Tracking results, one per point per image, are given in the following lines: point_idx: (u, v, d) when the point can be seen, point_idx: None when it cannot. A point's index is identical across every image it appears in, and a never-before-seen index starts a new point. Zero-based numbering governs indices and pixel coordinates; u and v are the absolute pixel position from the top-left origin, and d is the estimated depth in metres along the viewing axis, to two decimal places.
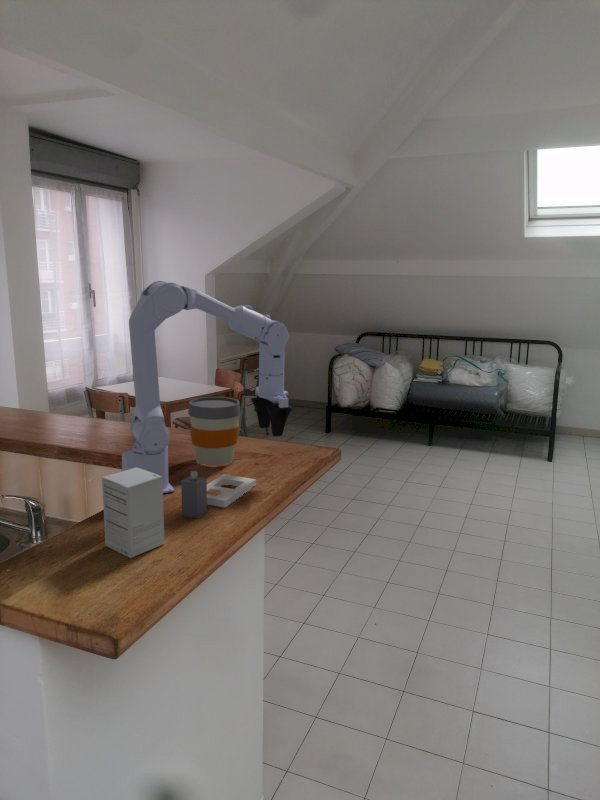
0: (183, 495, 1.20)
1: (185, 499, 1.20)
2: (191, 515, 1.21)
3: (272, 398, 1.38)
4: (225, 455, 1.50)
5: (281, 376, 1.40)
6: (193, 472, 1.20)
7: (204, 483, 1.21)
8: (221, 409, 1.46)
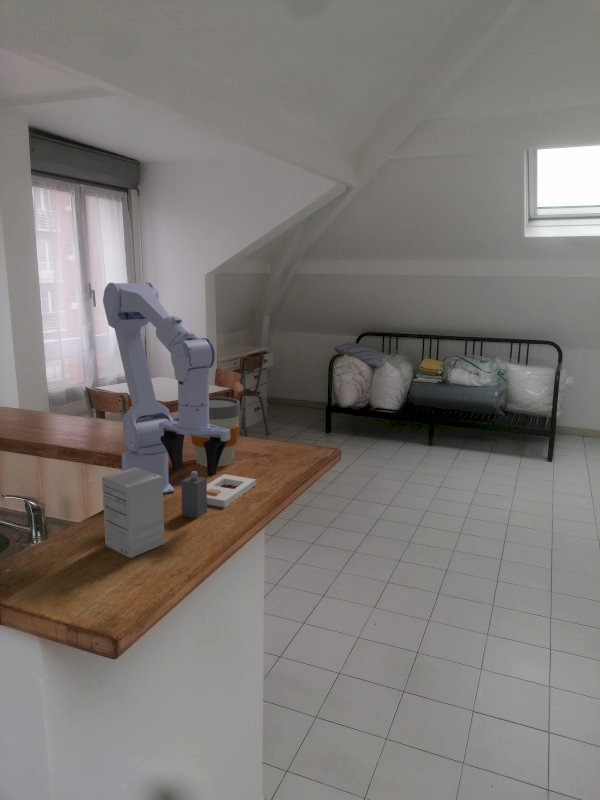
0: (183, 495, 1.20)
1: (185, 499, 1.20)
2: (191, 515, 1.21)
3: None
4: (225, 455, 1.50)
5: (178, 404, 1.18)
6: (193, 472, 1.20)
7: (204, 483, 1.21)
8: (221, 409, 1.46)
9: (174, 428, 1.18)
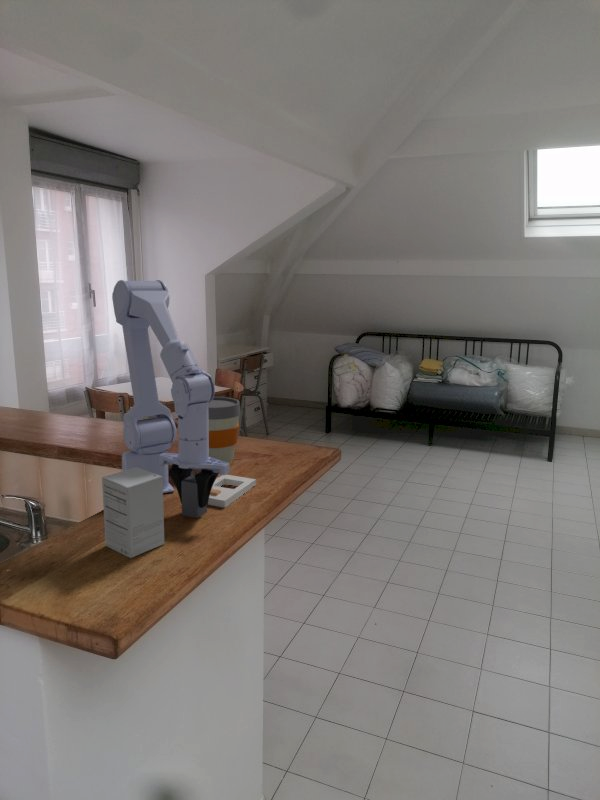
0: (183, 495, 1.20)
1: (185, 499, 1.20)
2: (191, 515, 1.21)
3: None
4: (225, 455, 1.50)
5: (178, 438, 1.19)
6: (193, 472, 1.20)
7: None
8: (221, 409, 1.46)
9: (174, 461, 1.19)
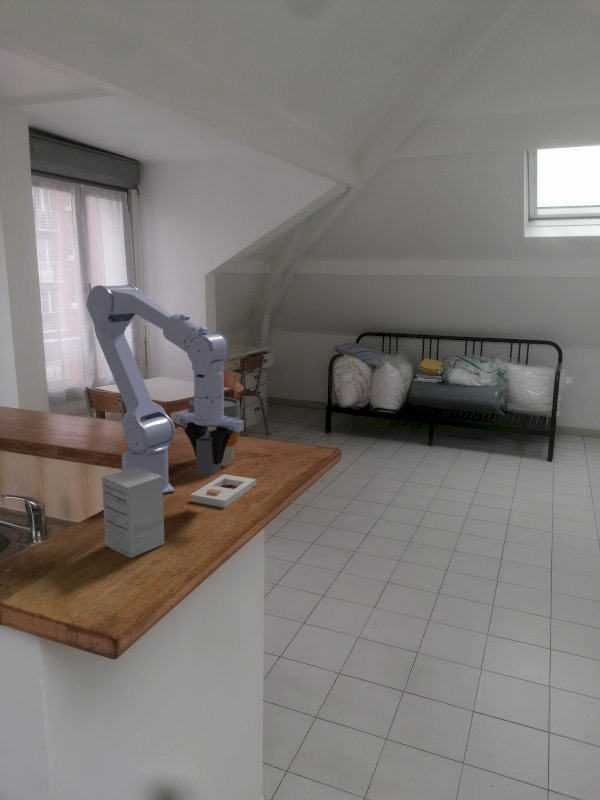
0: (198, 453, 1.24)
1: (199, 457, 1.24)
2: (205, 473, 1.24)
3: None
4: (225, 455, 1.50)
5: (194, 396, 1.23)
6: (207, 431, 1.24)
7: None
8: None
9: (190, 419, 1.23)
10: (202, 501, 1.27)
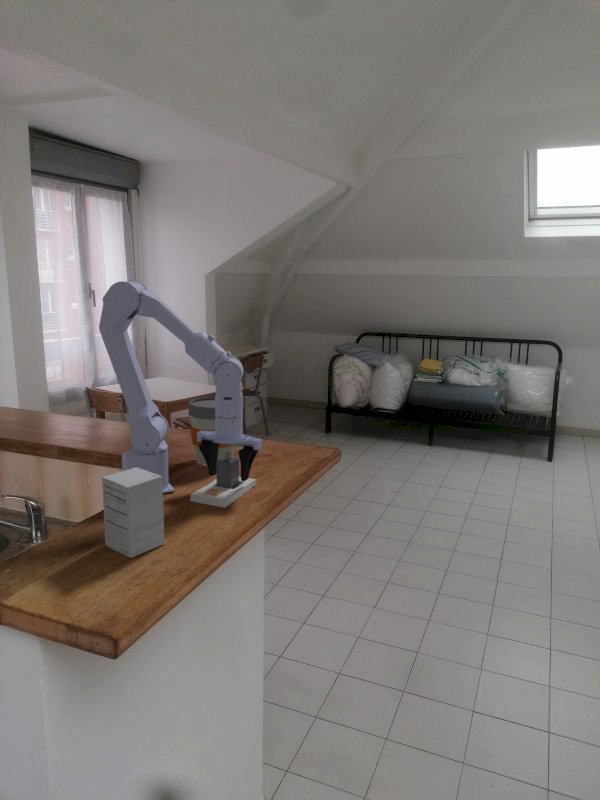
0: (218, 474, 1.33)
1: (219, 478, 1.33)
2: None
3: None
4: None
5: (215, 417, 1.31)
6: (227, 453, 1.33)
7: (236, 463, 1.33)
8: None
9: (211, 438, 1.32)
10: (202, 501, 1.27)
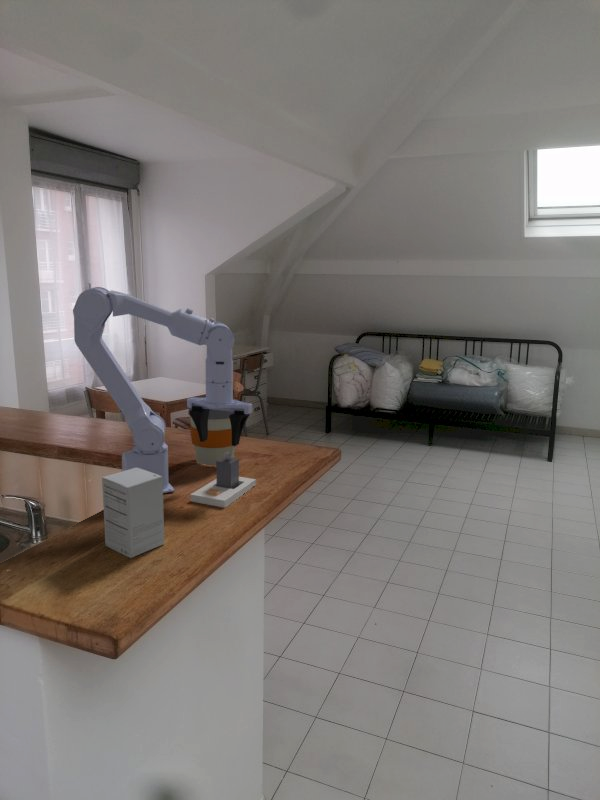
0: (218, 474, 1.33)
1: (219, 478, 1.33)
2: None
3: None
4: None
5: None
6: (227, 453, 1.33)
7: (236, 463, 1.33)
8: None
9: (202, 403, 1.32)
10: (202, 501, 1.27)
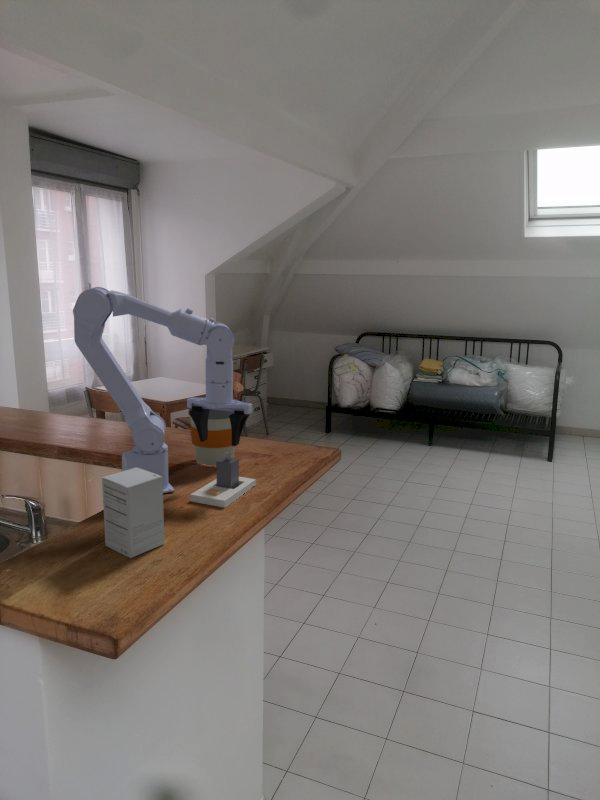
0: (218, 474, 1.33)
1: (219, 478, 1.33)
2: None
3: None
4: None
5: None
6: (227, 453, 1.33)
7: (236, 463, 1.33)
8: None
9: (202, 403, 1.32)
10: (202, 501, 1.27)
